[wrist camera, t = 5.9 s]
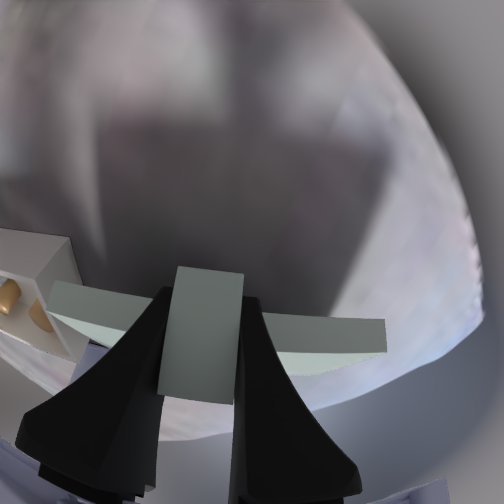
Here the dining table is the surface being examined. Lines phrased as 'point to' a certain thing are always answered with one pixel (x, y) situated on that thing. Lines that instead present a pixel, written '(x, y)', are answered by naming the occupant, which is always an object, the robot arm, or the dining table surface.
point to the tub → (37, 291)
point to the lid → (216, 332)
